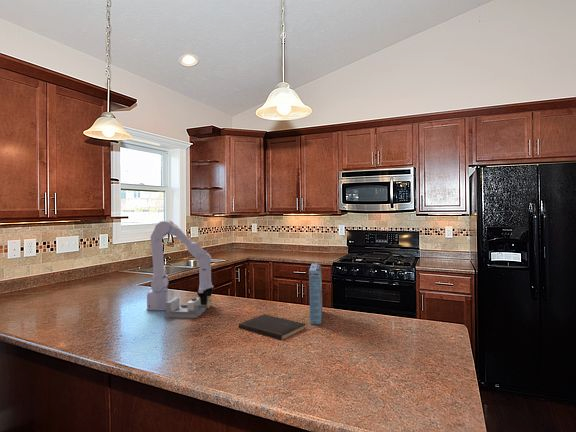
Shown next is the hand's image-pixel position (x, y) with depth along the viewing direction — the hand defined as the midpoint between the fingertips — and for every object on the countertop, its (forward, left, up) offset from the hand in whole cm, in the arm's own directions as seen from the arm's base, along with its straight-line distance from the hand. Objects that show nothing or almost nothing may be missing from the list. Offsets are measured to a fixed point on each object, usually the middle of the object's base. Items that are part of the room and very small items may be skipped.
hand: (205, 303), depth 176 cm
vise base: (-6, -12, -1) cm, 13 cm away
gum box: (+56, -14, -2) cm, 58 cm away
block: (0, 0, -1) cm, 1 cm away
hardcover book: (+38, -29, -2) cm, 48 cm away
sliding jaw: (-1, -12, 0) cm, 12 cm away
